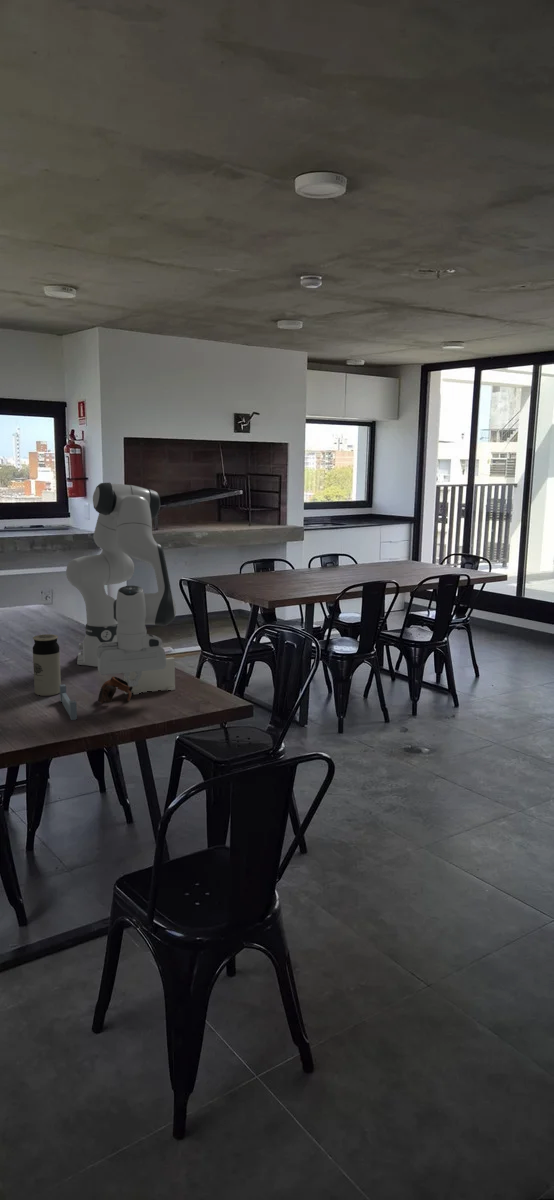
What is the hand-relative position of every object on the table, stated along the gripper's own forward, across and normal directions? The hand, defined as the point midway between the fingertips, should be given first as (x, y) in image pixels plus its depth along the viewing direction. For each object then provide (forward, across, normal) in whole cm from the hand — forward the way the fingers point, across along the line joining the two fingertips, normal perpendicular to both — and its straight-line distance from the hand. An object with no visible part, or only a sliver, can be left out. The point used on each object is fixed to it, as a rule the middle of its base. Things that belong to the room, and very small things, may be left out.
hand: (132, 685), depth 242 cm
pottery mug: (+5, -5, +3) cm, 8 cm away
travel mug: (+5, -22, +20) cm, 30 cm away
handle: (+5, -19, 0) cm, 20 cm away
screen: (+5, +8, +10) cm, 14 cm away
